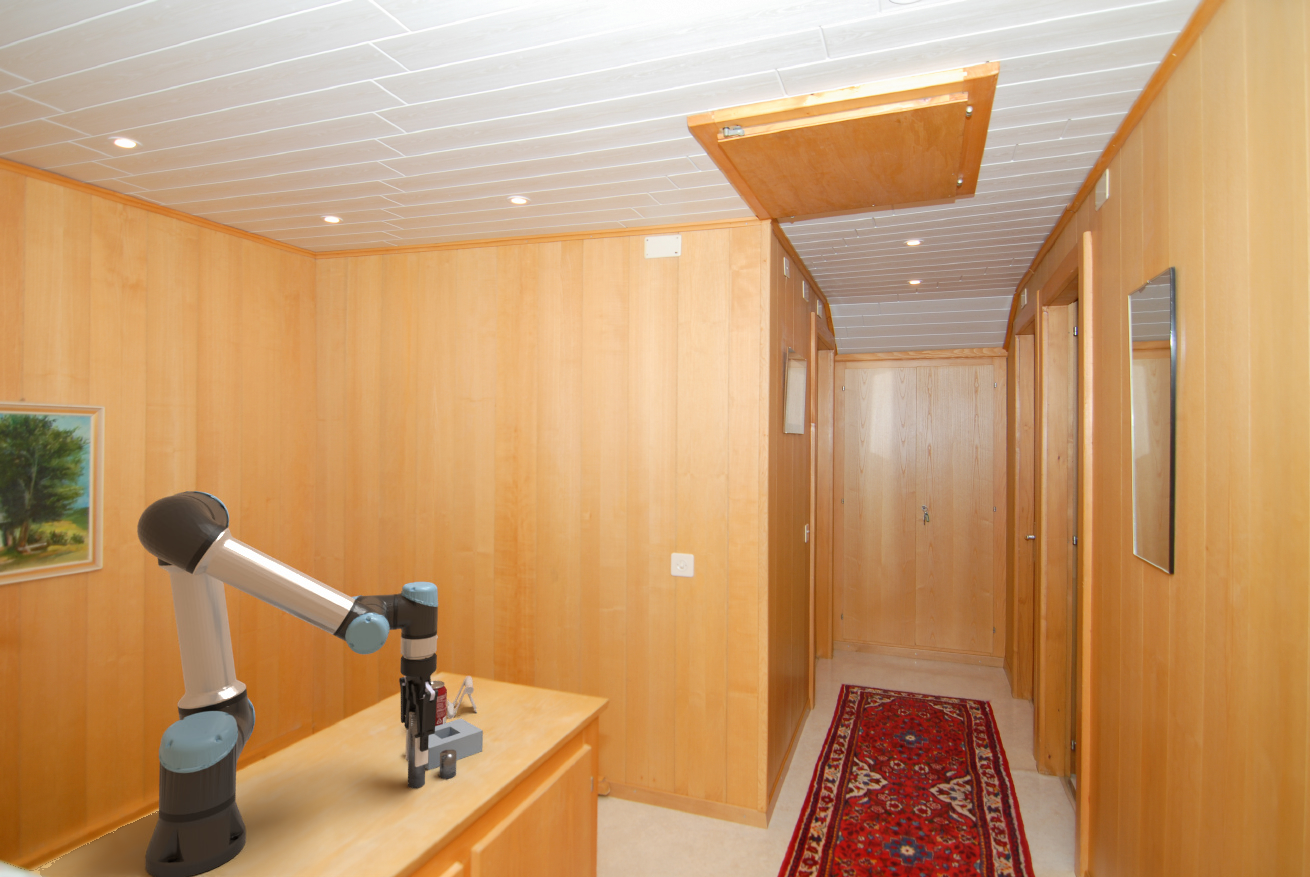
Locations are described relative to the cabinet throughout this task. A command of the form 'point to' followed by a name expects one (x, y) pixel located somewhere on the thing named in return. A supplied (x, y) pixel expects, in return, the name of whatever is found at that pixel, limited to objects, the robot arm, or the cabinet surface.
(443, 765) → the short pin
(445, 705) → the soda can
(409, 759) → the long pin
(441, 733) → the block
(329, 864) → the cabinet surface
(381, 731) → the cabinet surface
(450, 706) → the portable electronic device stand
